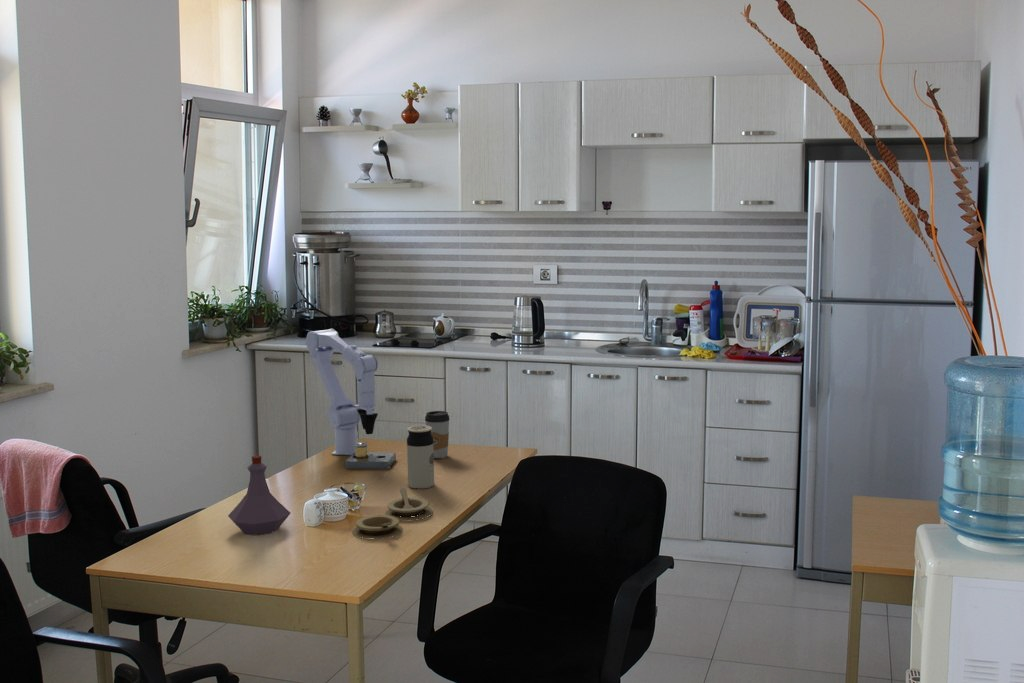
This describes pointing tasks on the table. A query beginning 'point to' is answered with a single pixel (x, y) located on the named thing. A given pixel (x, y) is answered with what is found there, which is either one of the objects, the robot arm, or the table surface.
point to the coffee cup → (439, 431)
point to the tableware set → (392, 517)
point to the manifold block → (371, 461)
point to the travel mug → (420, 457)
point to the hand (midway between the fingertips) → (367, 431)
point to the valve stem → (361, 450)
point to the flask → (258, 505)
